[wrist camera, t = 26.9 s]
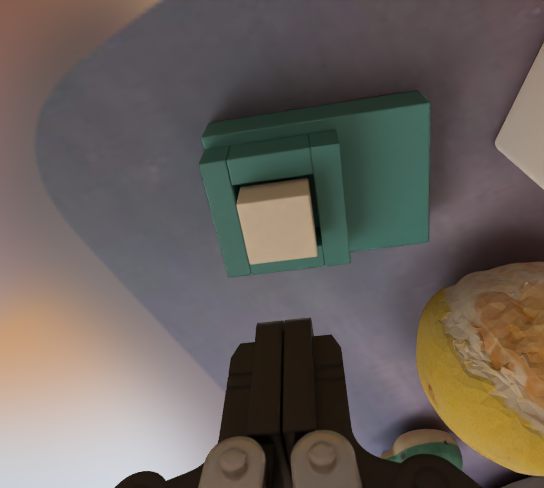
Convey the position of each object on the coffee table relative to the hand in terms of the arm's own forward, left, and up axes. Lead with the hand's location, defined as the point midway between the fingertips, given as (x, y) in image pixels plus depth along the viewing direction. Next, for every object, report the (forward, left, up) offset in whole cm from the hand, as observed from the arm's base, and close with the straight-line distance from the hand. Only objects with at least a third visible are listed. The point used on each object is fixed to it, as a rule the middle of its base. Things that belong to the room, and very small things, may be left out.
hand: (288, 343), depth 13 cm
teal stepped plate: (0, +2, -12) cm, 12 cm away
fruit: (+10, +11, -13) cm, 19 cm away
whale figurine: (+23, +6, -12) cm, 27 cm away
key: (0, -1, -9) cm, 9 cm away
